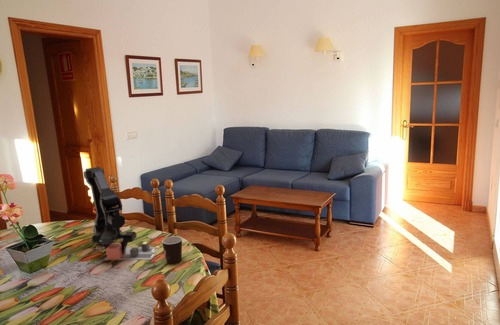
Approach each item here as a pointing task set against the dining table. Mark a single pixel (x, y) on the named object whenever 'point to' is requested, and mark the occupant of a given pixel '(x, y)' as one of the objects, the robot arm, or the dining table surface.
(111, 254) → the cap
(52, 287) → the dining table surface
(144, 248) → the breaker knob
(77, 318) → the dining table surface
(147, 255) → the breaker panel
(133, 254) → the block
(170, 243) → the coffee mug
